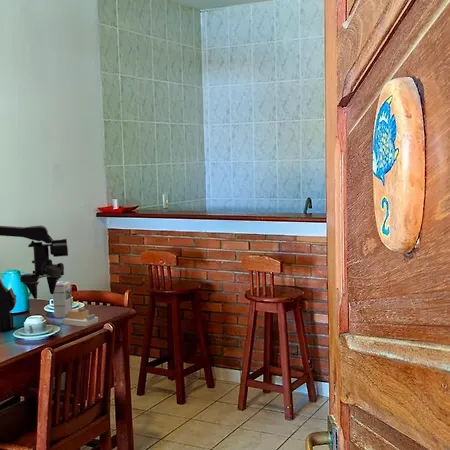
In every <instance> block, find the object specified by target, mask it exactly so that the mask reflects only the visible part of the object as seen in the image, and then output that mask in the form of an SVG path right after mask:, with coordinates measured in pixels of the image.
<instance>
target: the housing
mask: <svg viewBox="0 0 450 450" xmlns="http://www.w3.org/2000/svg"><path fill="white" fill-rule="evenodd" d="M68 315H69V319H79V320H83V319H86V316H89V315H90V313H89V309H86V307H83V306H80V307H78V308H74V309H73V308H72V310H70V311H68Z"/></svg>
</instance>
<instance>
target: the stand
mask: <svg viewBox="0 0 450 450" xmlns="http://www.w3.org/2000/svg"><path fill="white" fill-rule="evenodd" d="M96 323H99V317H98V316H96V315H95V314H93V313H92V314H89V316H86V319H83V320H79V319H69V315H68V314H65V318H61V325H67V326H77V327H78V326H79V327H88V326H90V325H94V324H96Z"/></svg>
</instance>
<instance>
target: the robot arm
mask: <svg viewBox="0 0 450 450" xmlns="http://www.w3.org/2000/svg"><path fill="white" fill-rule="evenodd" d="M0 237H13V238H14V237H16V238H17V237H19V238H25V239H28V240H31V241H30V243H28V245H27V246H28V248H33V260H31V264H34V270H32V273H24V274H21V275H20V277H19V280H20V283H22V284H24V285H25V286H26V288H27V289H28V291H29V293H30V294H31V296H32V297H33V299H34V300H37V299H38V285H39V283H40V281H39V279H41V278H46V281H47V284H48V285H47V286H48V290H49V294H50V295H53V294H54V290H55V286H56V283H57V282H59V280H60V279H61V278H63V276H64V275H65V272H64V269H65V266H64V263H62V262H59V263H56V264H53V260H52V259H50V255H51V256H53V257H54V258H55V257H68V256H69V247H68V241H67V238H62V239H53V238H52V237H51V236H50V235H49V231H48V228H47V227H46V226H44V225H31V226H24V227H23V226H10V225H9V226H8V225H0ZM35 241H36V242H35ZM43 242H44V243H43ZM16 305H17V295H16V294H15V292H14V290H13V288H12V287H10V288H9V289H8V288H7V287H6V286H5V284H4V283H3V281H2V280H1V279H0V333H5V332H6V333H7V332H8V331H12V330H15V329H17V326H14V315H13V312H11V311H13V310H14V308H15V306H16Z"/></svg>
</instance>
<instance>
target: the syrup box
mask: <svg viewBox="0 0 450 450" xmlns="http://www.w3.org/2000/svg"><path fill="white" fill-rule="evenodd" d="M71 288H72V287H71V282H70V281H67V280H66V281H65V280H64V281H57V283H56V286H55V290H54V294H52V301H53V302H52V303H53V315H54V318H57V319H58V318H59V319H64V318H65V314H68V311H70V310H73V304H72V303H73V302H72V301H73V299H72V289H71Z"/></svg>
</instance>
